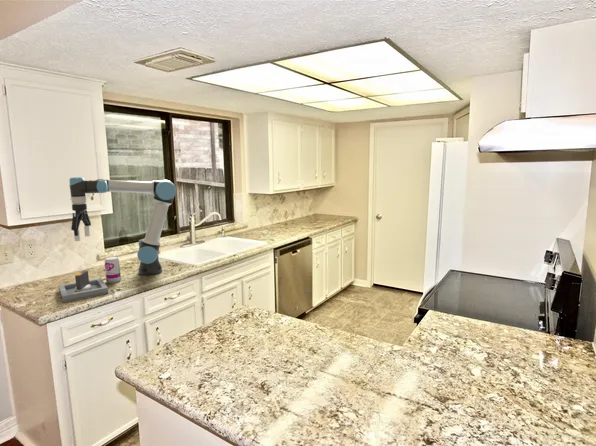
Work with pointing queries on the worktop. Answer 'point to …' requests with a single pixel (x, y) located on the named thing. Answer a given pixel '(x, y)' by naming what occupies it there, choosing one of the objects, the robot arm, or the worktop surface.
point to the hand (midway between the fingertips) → (82, 238)
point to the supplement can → (112, 269)
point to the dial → (82, 282)
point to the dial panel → (70, 295)
